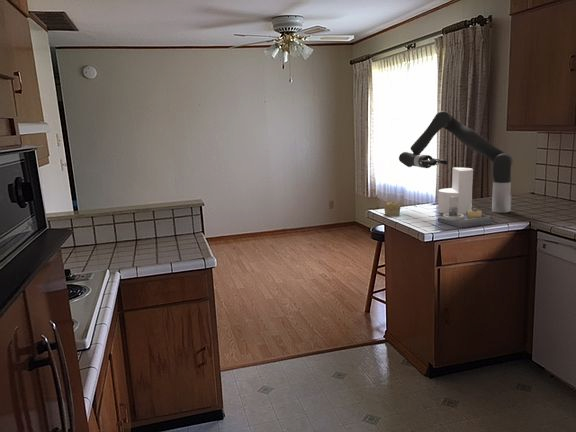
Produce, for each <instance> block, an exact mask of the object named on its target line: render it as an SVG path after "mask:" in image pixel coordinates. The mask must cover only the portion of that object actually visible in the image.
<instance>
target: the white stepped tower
mask: <svg viewBox="0 0 576 432" xmlns="http://www.w3.org/2000/svg"><path fill="white" fill-rule="evenodd" d="M451 172H452V178H451V187H448V188H447V187H446V188H440V189H438V193H437V195H438V199H437V213H440V214H448V213H449V197H450V196H457V197H458V213H457V214H466V213H467V211H468V210H472V208H473V207H472V206H473V205H472V203H473V179H474V177H473V176H474V168H470V167H457V166H456V167H452V171H451Z"/></svg>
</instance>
